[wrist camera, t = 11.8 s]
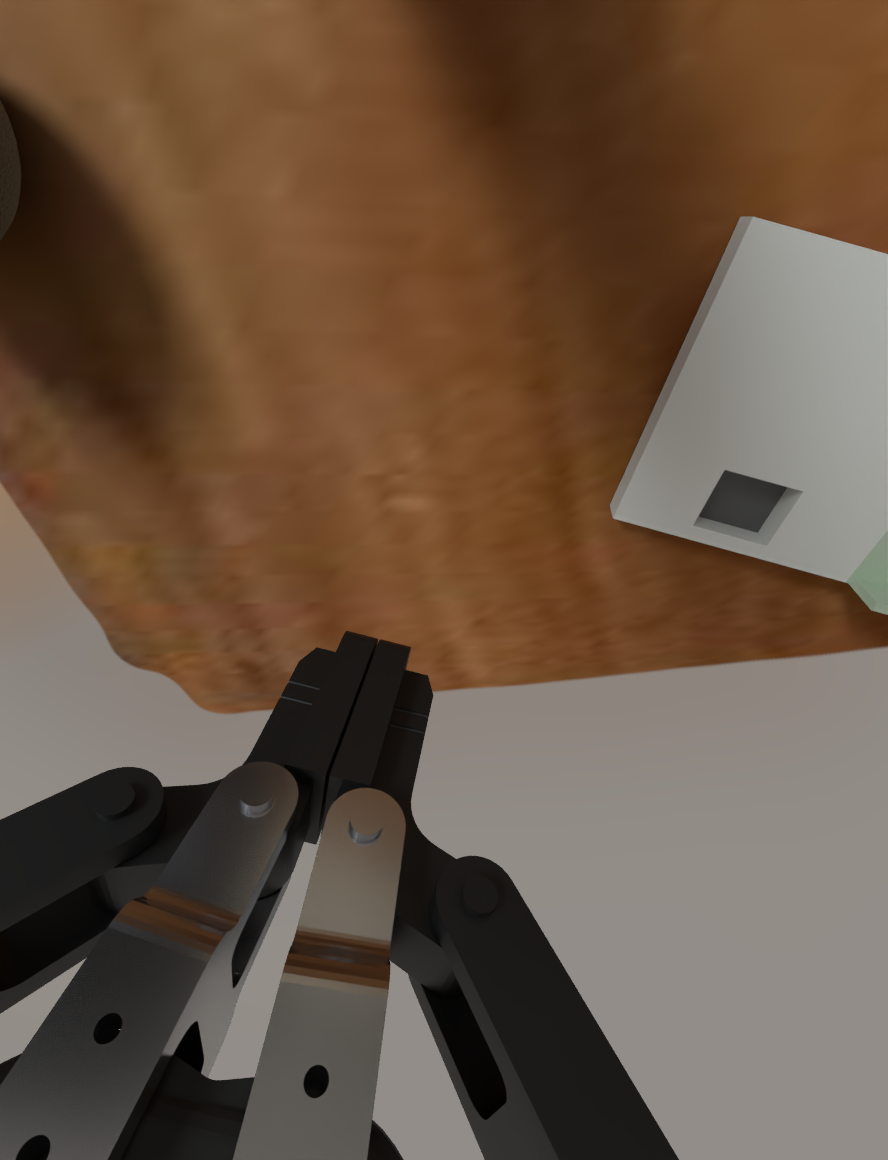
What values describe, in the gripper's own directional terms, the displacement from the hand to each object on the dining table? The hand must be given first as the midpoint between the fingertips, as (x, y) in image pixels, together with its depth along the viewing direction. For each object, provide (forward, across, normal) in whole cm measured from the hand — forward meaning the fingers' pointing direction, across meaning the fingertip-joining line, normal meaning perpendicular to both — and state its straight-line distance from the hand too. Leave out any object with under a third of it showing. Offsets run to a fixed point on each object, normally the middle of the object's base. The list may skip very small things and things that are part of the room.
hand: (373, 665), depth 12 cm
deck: (+26, -23, -2) cm, 35 cm away
